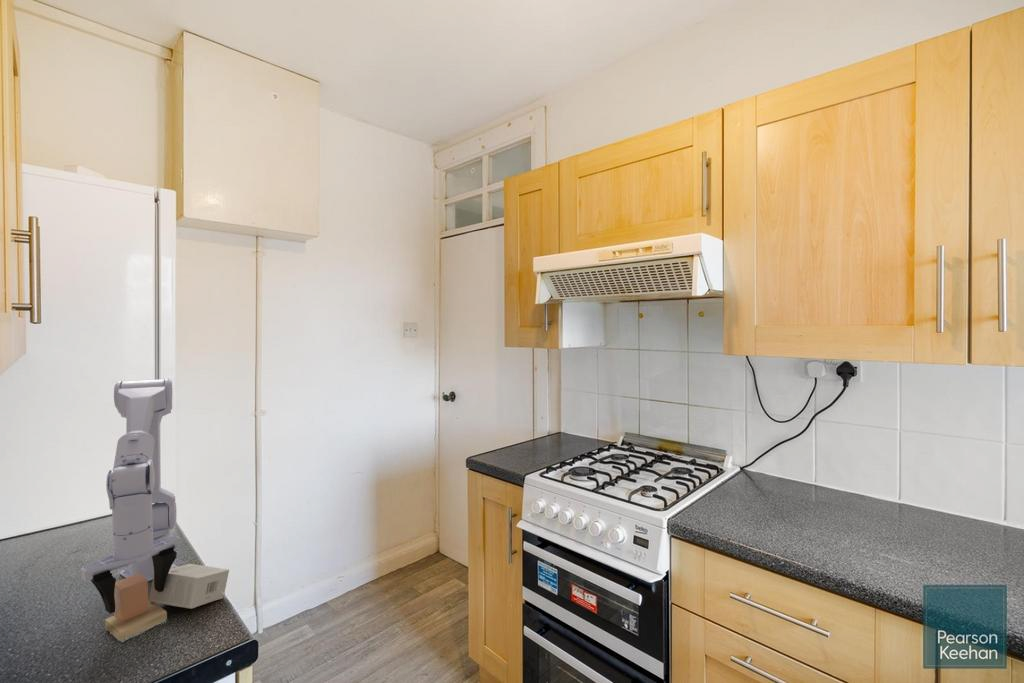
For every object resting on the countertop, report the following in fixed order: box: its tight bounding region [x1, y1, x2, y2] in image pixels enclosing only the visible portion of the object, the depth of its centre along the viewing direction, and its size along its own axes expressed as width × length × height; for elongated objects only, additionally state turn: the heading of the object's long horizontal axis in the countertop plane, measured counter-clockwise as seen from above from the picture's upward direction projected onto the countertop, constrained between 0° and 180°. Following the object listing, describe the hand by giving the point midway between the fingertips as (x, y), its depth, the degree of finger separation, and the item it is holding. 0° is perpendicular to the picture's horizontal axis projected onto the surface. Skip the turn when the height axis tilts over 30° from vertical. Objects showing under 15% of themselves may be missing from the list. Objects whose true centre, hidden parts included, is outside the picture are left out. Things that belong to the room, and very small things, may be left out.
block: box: [113, 573, 149, 622], centre depth 87 cm, size 4×4×6 cm
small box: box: [148, 563, 230, 610], centre depth 93 cm, size 8×6×10 cm
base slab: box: [104, 602, 168, 641], centre depth 86 cm, size 7×7×2 cm
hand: (135, 600), depth 86 cm, fingers open, 7 cm apart
